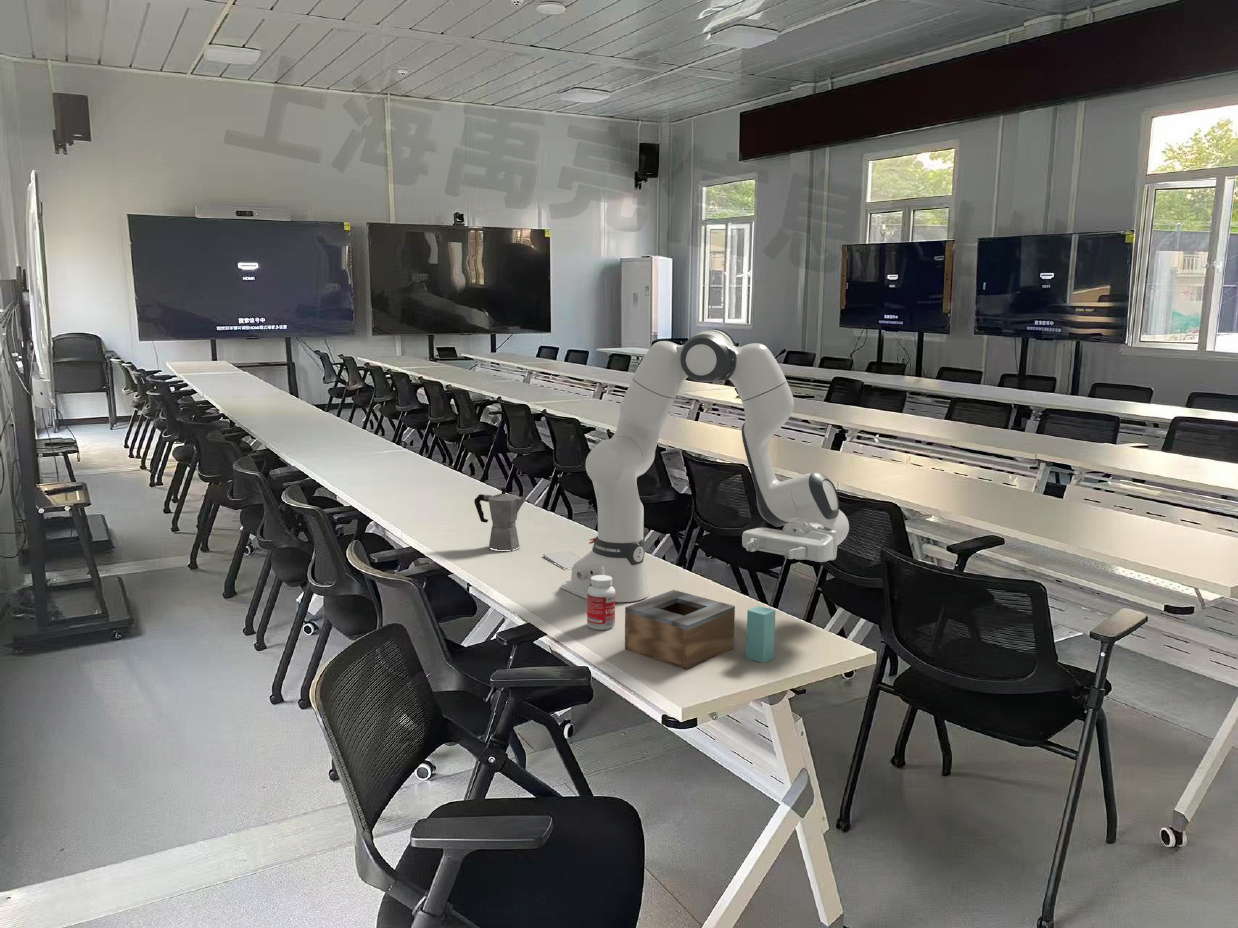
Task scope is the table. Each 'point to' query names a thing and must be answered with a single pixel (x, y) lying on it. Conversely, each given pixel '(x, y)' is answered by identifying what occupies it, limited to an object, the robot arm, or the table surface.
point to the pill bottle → (601, 603)
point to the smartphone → (563, 559)
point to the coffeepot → (501, 518)
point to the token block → (760, 634)
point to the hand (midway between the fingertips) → (767, 551)
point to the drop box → (679, 628)
